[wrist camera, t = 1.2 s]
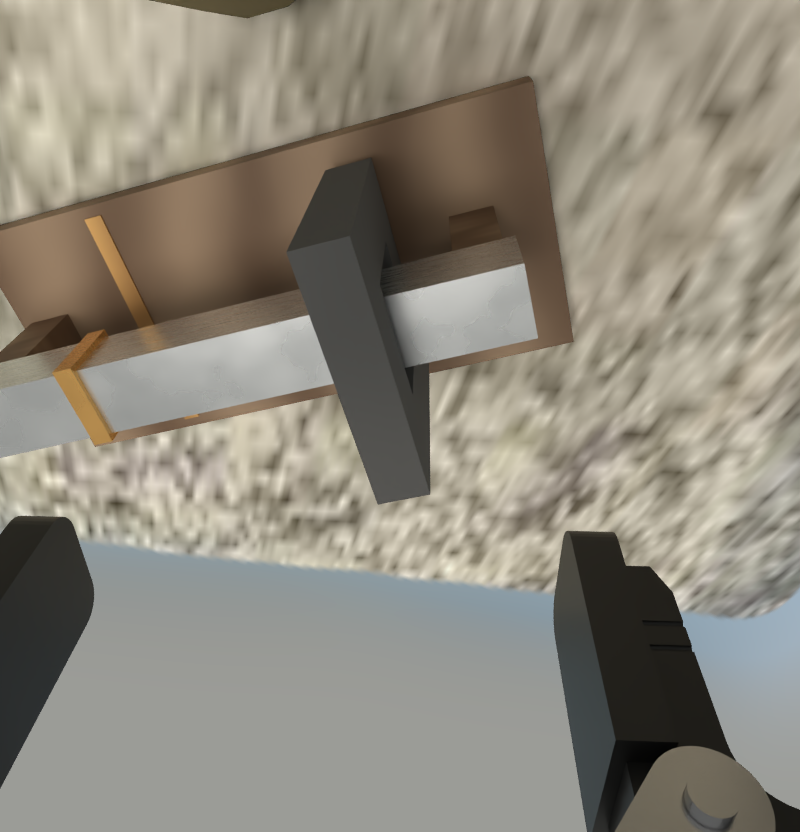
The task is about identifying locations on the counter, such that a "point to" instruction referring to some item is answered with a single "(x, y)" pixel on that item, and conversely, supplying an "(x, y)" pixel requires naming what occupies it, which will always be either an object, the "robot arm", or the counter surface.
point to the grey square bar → (254, 351)
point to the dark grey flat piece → (363, 328)
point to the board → (289, 230)
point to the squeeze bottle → (232, 6)
